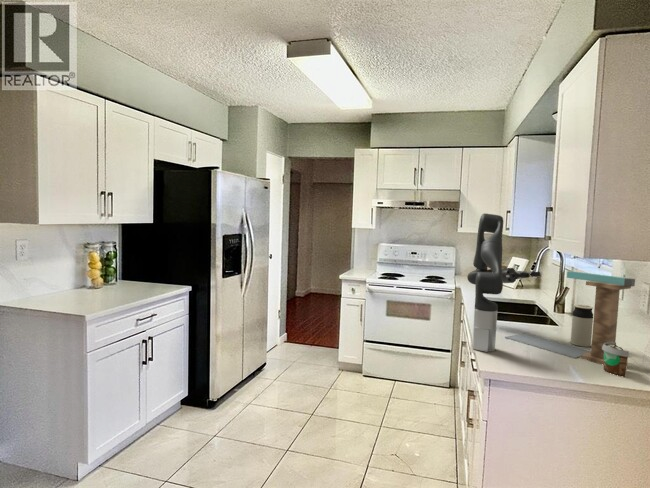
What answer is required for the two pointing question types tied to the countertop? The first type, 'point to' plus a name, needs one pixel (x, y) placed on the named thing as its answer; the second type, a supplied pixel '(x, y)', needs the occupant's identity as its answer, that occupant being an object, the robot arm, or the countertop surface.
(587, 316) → the travel mug
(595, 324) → the walnut stand
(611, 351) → the food container
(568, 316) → the countertop surface
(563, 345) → the grey mat
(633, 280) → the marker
